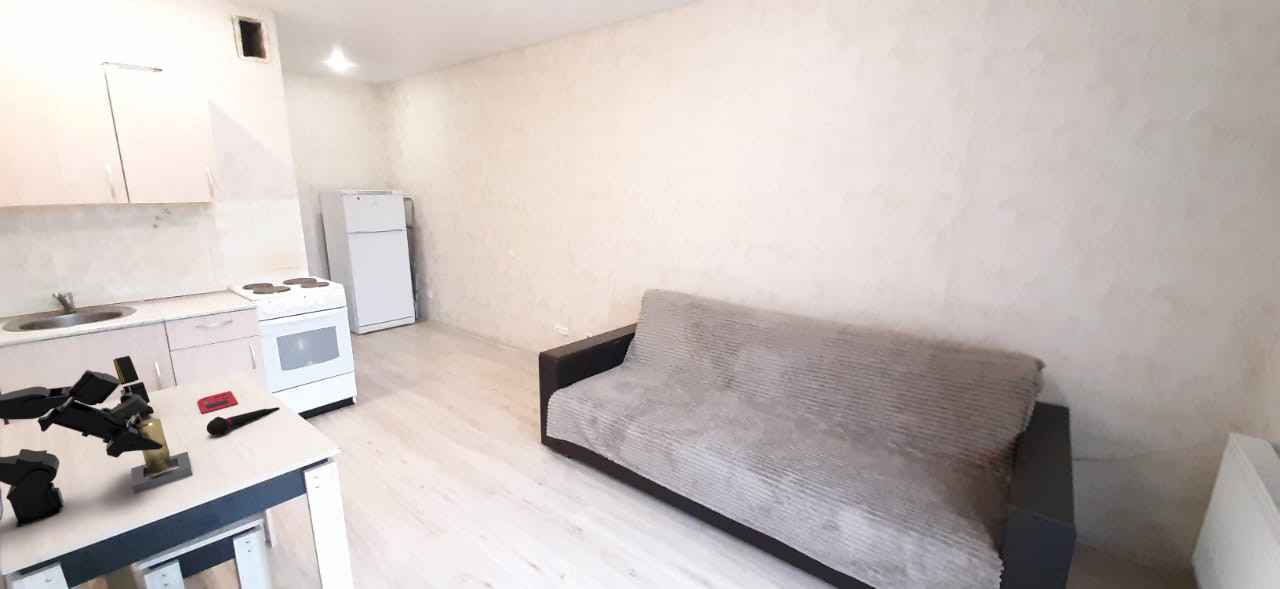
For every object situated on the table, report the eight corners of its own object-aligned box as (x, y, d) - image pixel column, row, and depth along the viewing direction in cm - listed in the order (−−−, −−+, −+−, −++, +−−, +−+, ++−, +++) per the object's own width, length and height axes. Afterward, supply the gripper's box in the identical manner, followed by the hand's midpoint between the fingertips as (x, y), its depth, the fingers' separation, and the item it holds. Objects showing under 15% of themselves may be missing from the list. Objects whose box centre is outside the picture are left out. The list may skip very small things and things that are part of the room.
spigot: (148, 476, 127) (135, 429, 124) (147, 468, 130) (135, 423, 127) (172, 468, 130) (160, 422, 127) (171, 461, 133) (159, 416, 130)
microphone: (276, 417, 167) (205, 439, 149) (271, 400, 167) (200, 421, 149) (286, 415, 165) (215, 437, 147) (281, 398, 165) (210, 419, 147)
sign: (129, 418, 169) (109, 362, 168) (142, 414, 172) (123, 359, 171) (140, 417, 156) (118, 355, 155) (154, 412, 158) (133, 352, 157)
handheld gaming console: (230, 389, 180) (237, 402, 170) (231, 393, 180) (238, 406, 170) (195, 398, 173) (201, 412, 163) (196, 402, 174) (202, 416, 164)
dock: (133, 494, 123) (131, 486, 122) (133, 475, 131) (131, 468, 130) (192, 475, 130) (190, 467, 130) (189, 458, 138) (187, 451, 137)
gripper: (113, 402, 115) (188, 428, 125) (115, 379, 128) (183, 404, 138) (72, 445, 112) (152, 469, 122) (79, 418, 125) (151, 441, 135)
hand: (161, 443), depth 129 cm, fingers closed on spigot, 5 cm apart
